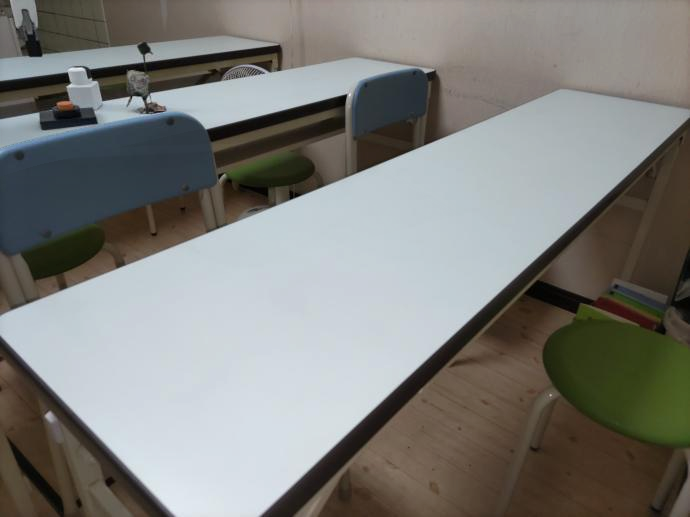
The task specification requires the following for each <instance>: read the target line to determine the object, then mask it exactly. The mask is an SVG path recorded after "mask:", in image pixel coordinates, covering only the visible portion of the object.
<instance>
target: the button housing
mask: <svg viewBox="0 0 690 517" xmlns="http://www.w3.org/2000/svg"><path fill="white" fill-rule="evenodd" d="M73 106H74V108H73V109H69V110H58V107H57V105H55V106H52V108H51V109H52V110H42V111H38V117H39V125H40V128H41V129H40V130H42V131H45V130H56V129H65V128H74V127H83V126H93V125H98V123H99V122H98V119H97V118H98V117H97V115H96V112H95V110H93V107H89V108H80V107H79V106H78V105H73Z"/></svg>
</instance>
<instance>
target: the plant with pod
mask: <svg viewBox="0 0 690 517" xmlns="http://www.w3.org/2000/svg"><path fill="white" fill-rule="evenodd" d="M136 48H137V50H138V52H139V53H140V54H141V55H142V59H143V60H142V61H143V67H144V71H145V72H144V71H139V70H134V69H131V70H127V72H126V86H125V87H126V93H127V94H128V96H129V98H128V100H127V103H126V105H125V106H126V108H128V107H129V106H130V104H131V102H132V100H133V97H137V98H141V100H142V101H143V104H144V107H139V108H137V111H138V110H140V109H142V110H140V112H139V115H147V114H153V113H154V112H155V113H156V112H165V111H166V109H167V106H166V105H160V104H158V102H157V101H152V95H151V90H150V83H151V81H150V76H149V74H148V71H147V65H146V55H147V54H150V55H154V53H153V52H152V48H151V47H150V45H149V44H148V42H147V41H146V40H142V41H141V42H139V43H137V45H136ZM148 98H149V100H150V102H148ZM143 108H144V109H143ZM145 113H147V114H145Z"/></svg>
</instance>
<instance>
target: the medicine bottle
mask: <svg viewBox="0 0 690 517" xmlns="http://www.w3.org/2000/svg"><path fill="white" fill-rule="evenodd" d="M67 74H68V78H69V82H70V84H69V85H67V86H66V87H65V88H66V91H67V95H68V101H70V102H73V105H78V106H79V107H80V108H89V107H93V110H94V111H97V110H98V109H99V108H100V107H102V106H103V104H104V103H103V98H102V94H101V89H100V85H99V82H98V81H97V80H93V77H92V74H91V69H90V68H89V67H88V66H85V65H73V66H69V68H67Z"/></svg>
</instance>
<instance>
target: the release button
mask: <svg viewBox="0 0 690 517" xmlns="http://www.w3.org/2000/svg"><path fill="white" fill-rule="evenodd" d="M56 106H57V107H58V110H69V109H73V108H74V106H73V102H70V100H63V101H58V102H56Z"/></svg>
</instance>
